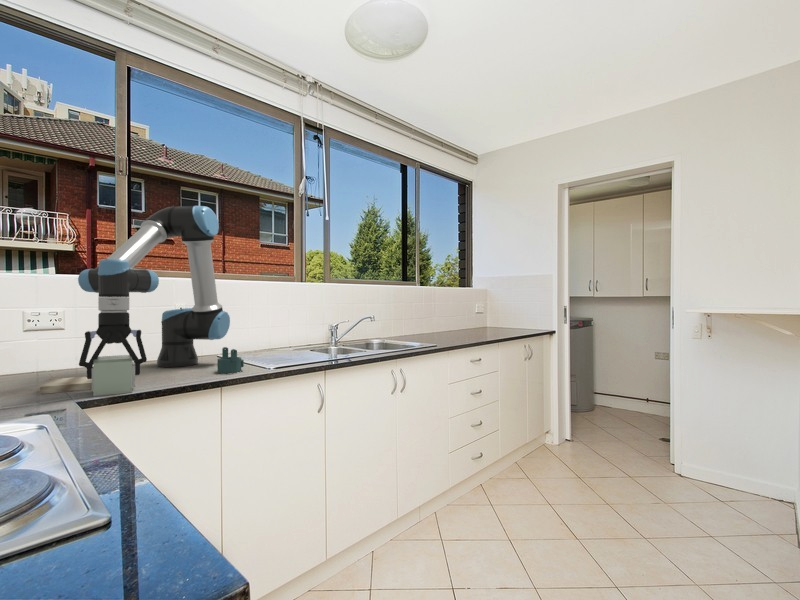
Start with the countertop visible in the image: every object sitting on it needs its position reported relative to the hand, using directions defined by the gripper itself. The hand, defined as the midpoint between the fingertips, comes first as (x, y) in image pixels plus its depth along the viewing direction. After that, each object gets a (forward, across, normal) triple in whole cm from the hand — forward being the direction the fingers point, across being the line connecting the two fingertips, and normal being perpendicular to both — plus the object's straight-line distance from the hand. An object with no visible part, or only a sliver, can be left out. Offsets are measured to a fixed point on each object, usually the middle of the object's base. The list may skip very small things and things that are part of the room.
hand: (114, 388), depth 122 cm
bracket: (+1, +35, +18) cm, 39 cm away
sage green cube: (+1, 0, 0) cm, 1 cm away
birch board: (+1, -11, +14) cm, 18 cm away
